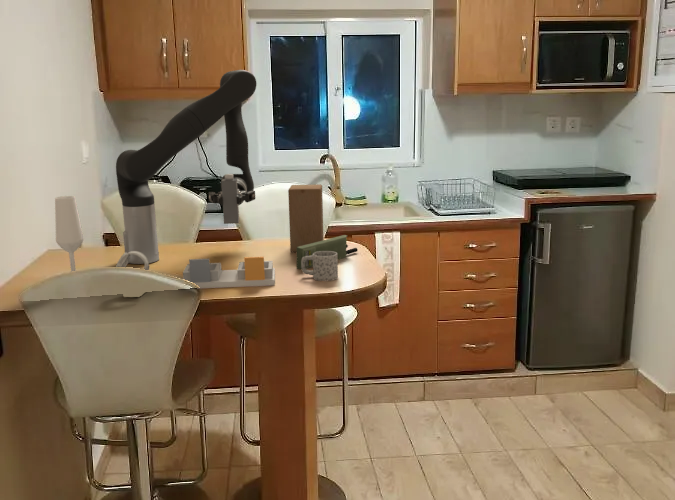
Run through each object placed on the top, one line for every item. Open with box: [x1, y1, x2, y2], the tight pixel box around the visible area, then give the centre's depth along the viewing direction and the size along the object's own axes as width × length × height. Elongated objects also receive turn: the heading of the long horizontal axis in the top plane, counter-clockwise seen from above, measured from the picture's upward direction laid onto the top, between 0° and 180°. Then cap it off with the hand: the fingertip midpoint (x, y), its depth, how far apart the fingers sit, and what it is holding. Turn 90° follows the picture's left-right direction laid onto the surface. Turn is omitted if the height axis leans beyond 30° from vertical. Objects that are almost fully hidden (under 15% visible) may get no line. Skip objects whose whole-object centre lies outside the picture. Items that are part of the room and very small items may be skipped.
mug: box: [301, 251, 339, 282], centre depth 181 cm, size 10×7×7 cm, turn 77°
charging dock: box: [182, 256, 276, 289], centre depth 179 cm, size 24×12×8 cm, turn 95°
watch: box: [115, 251, 150, 271], centre depth 169 cm, size 6×8×11 cm
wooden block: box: [287, 183, 325, 253], centre depth 214 cm, size 10×10×20 cm
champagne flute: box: [54, 195, 85, 273], centre depth 174 cm, size 7×7×24 cm
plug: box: [220, 173, 240, 225], centre depth 189 cm, size 4×4×14 cm
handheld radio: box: [296, 234, 359, 271], centre depth 199 cm, size 7×3×25 cm
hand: (229, 200), depth 186 cm, fingers closed on plug, 4 cm apart
